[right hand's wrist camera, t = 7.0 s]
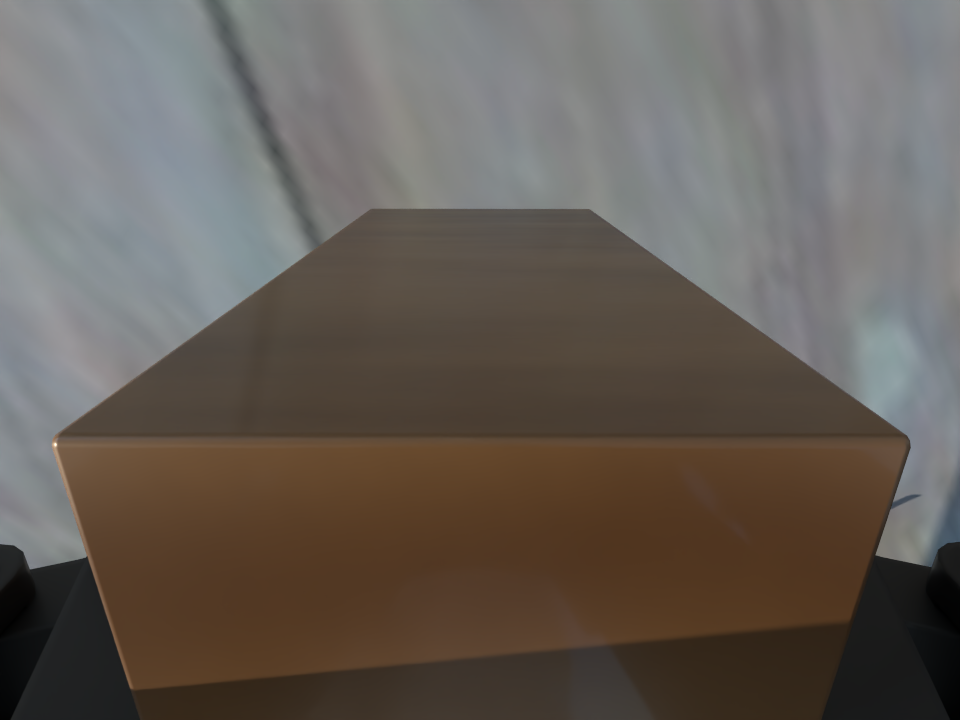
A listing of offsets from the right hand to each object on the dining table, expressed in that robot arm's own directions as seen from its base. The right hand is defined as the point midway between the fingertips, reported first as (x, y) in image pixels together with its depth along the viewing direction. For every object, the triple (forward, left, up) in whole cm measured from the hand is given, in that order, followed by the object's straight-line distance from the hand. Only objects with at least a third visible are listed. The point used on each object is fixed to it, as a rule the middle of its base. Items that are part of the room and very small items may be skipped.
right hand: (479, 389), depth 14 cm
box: (+6, +6, -3) cm, 9 cm away
